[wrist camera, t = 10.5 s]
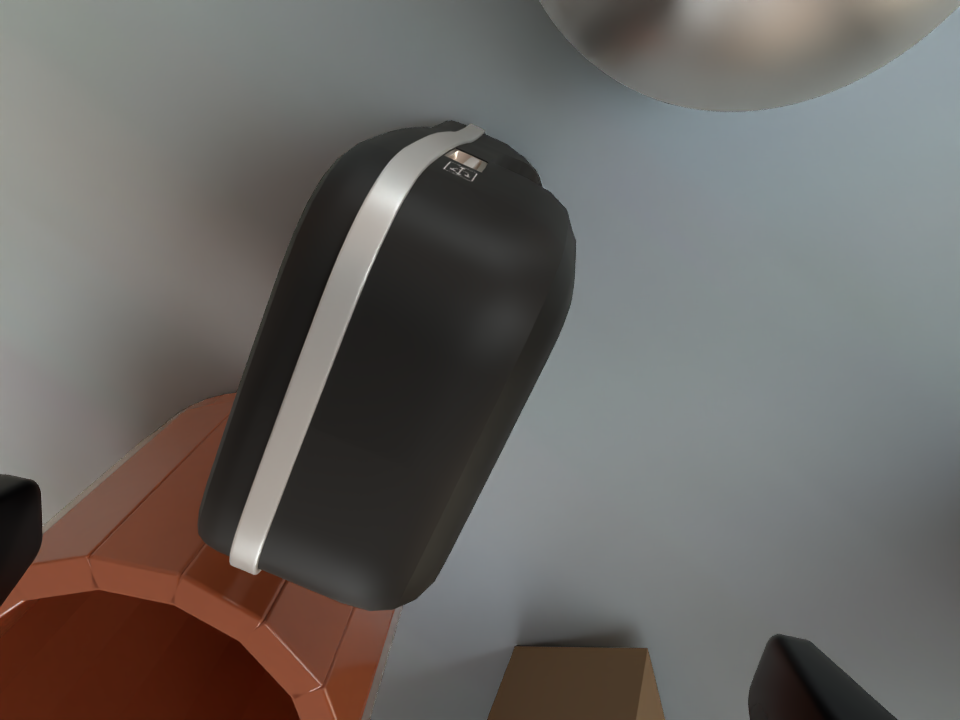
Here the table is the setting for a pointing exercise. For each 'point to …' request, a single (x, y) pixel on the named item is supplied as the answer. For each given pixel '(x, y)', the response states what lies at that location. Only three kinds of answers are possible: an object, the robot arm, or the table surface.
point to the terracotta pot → (175, 609)
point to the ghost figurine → (743, 45)
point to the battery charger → (390, 365)
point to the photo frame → (578, 685)
